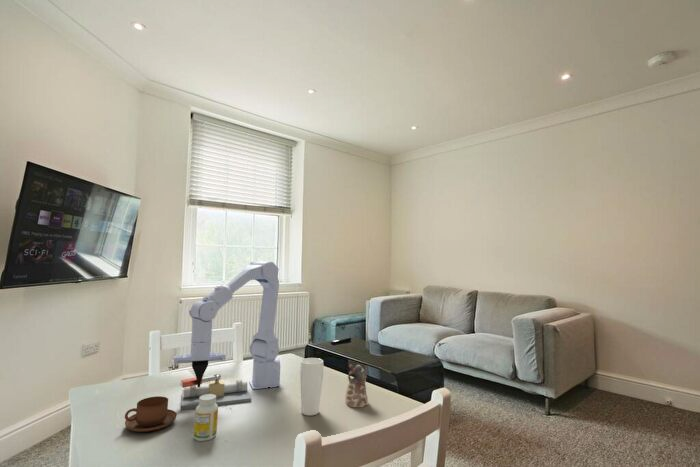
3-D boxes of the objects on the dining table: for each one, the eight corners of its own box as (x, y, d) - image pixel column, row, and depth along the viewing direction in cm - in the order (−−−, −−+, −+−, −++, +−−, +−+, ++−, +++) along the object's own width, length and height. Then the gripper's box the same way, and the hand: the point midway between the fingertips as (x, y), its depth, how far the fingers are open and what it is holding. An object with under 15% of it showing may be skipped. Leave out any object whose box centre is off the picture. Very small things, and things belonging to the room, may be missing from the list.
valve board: (245, 386, 125) (245, 370, 126) (251, 401, 113) (252, 383, 113) (182, 393, 117) (183, 376, 118) (180, 409, 105) (182, 390, 105)
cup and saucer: (140, 441, 87) (142, 414, 87) (115, 427, 93) (117, 403, 93) (185, 423, 97) (187, 399, 97) (160, 412, 103) (162, 390, 104)
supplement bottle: (200, 444, 86) (202, 402, 87) (189, 436, 89) (192, 396, 90) (220, 436, 90) (223, 396, 91) (209, 429, 93) (212, 391, 94)
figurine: (365, 409, 110) (366, 368, 111) (343, 406, 111) (344, 366, 112) (369, 400, 117) (370, 362, 118) (347, 398, 118) (349, 360, 119)
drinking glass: (303, 419, 101) (305, 364, 102) (295, 410, 107) (297, 358, 108) (325, 415, 104) (327, 362, 106) (316, 406, 110) (318, 356, 112)
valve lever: (218, 378, 117) (219, 373, 117) (221, 380, 115) (222, 374, 115) (179, 385, 109) (180, 380, 109) (182, 387, 107) (182, 382, 107)
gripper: (225, 336, 117) (223, 379, 115) (176, 339, 111) (173, 384, 110) (226, 341, 110) (224, 387, 109) (174, 344, 105) (171, 392, 104)
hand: (198, 386), depth 109 cm, fingers closed, pressing on valve lever
